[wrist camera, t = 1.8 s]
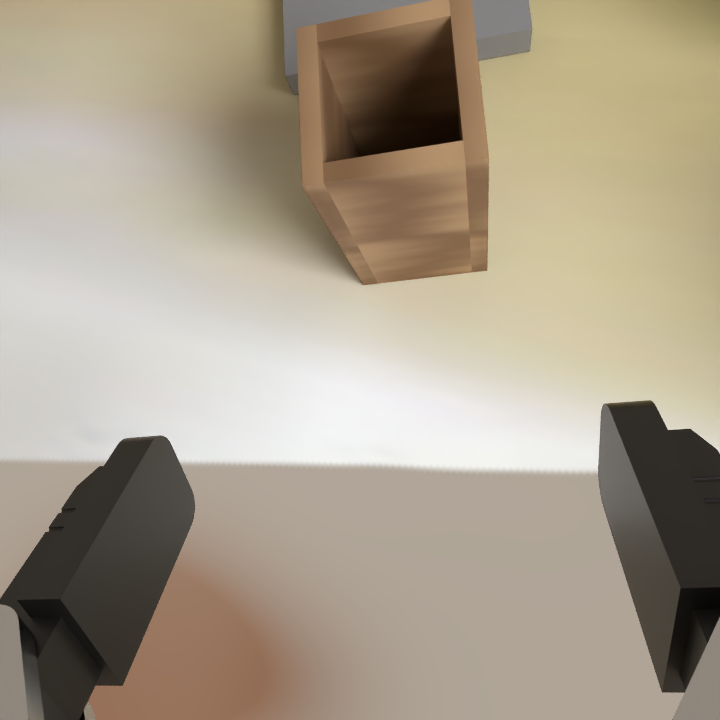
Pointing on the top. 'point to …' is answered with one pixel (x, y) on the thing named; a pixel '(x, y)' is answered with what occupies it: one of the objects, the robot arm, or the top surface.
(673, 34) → the top surface
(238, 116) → the top surface
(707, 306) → the top surface
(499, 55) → the post base
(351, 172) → the walnut sleeve
